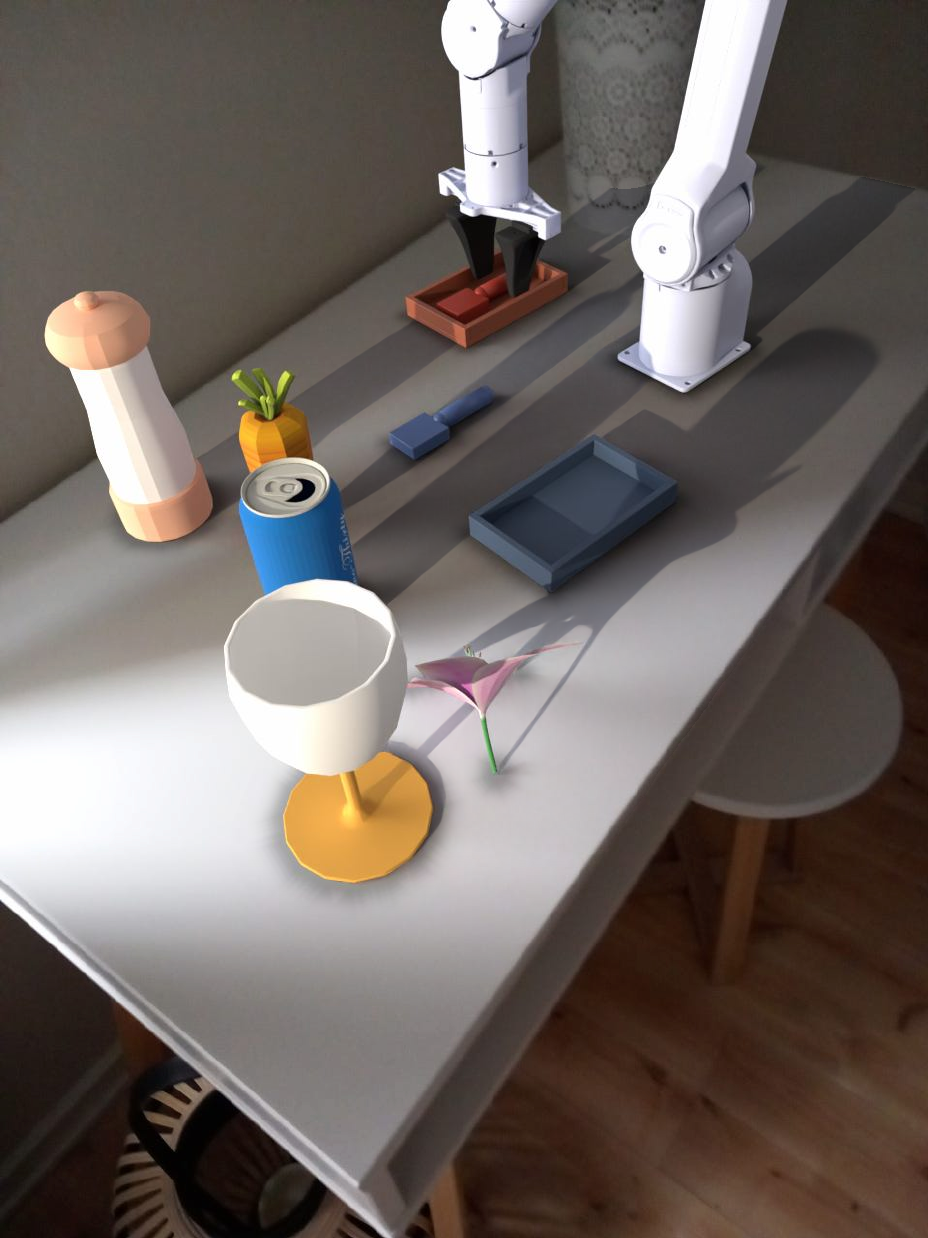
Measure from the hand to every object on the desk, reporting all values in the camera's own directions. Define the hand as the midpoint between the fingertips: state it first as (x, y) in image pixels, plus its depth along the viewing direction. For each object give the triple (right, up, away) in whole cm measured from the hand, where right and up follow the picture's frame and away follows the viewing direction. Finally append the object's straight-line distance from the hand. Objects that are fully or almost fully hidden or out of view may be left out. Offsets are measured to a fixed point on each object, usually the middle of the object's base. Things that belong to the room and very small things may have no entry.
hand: (501, 284), depth 96 cm
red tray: (-1, -2, 0) cm, 2 cm away
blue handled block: (-5, -17, -13) cm, 21 cm away
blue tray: (+5, -26, -22) cm, 34 cm away
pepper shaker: (-28, -25, -18) cm, 41 cm away
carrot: (-16, -27, -21) cm, 38 cm away
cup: (-10, -45, -38) cm, 60 cm away
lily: (-3, -40, -34) cm, 52 cm away
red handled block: (-1, -2, 0) cm, 2 cm away
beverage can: (-14, -33, -27) cm, 45 cm away
